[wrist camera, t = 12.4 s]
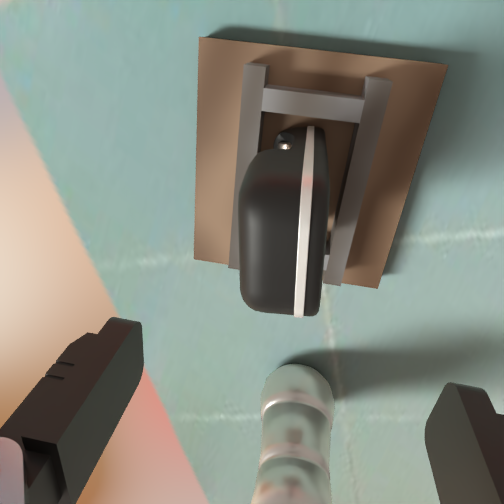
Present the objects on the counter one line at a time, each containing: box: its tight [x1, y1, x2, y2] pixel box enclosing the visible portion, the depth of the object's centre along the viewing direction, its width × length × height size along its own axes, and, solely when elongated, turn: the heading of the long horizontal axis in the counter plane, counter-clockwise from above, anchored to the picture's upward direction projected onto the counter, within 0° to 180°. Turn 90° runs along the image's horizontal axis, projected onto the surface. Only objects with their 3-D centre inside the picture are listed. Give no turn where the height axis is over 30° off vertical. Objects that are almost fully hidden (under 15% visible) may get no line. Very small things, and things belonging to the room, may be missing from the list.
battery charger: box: [238, 126, 330, 318], centre depth 20 cm, size 7×4×11 cm, turn 1°
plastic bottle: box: [251, 364, 335, 504], centre depth 28 cm, size 6×7×20 cm
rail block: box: [194, 37, 448, 289], centre depth 25 cm, size 14×15×4 cm
